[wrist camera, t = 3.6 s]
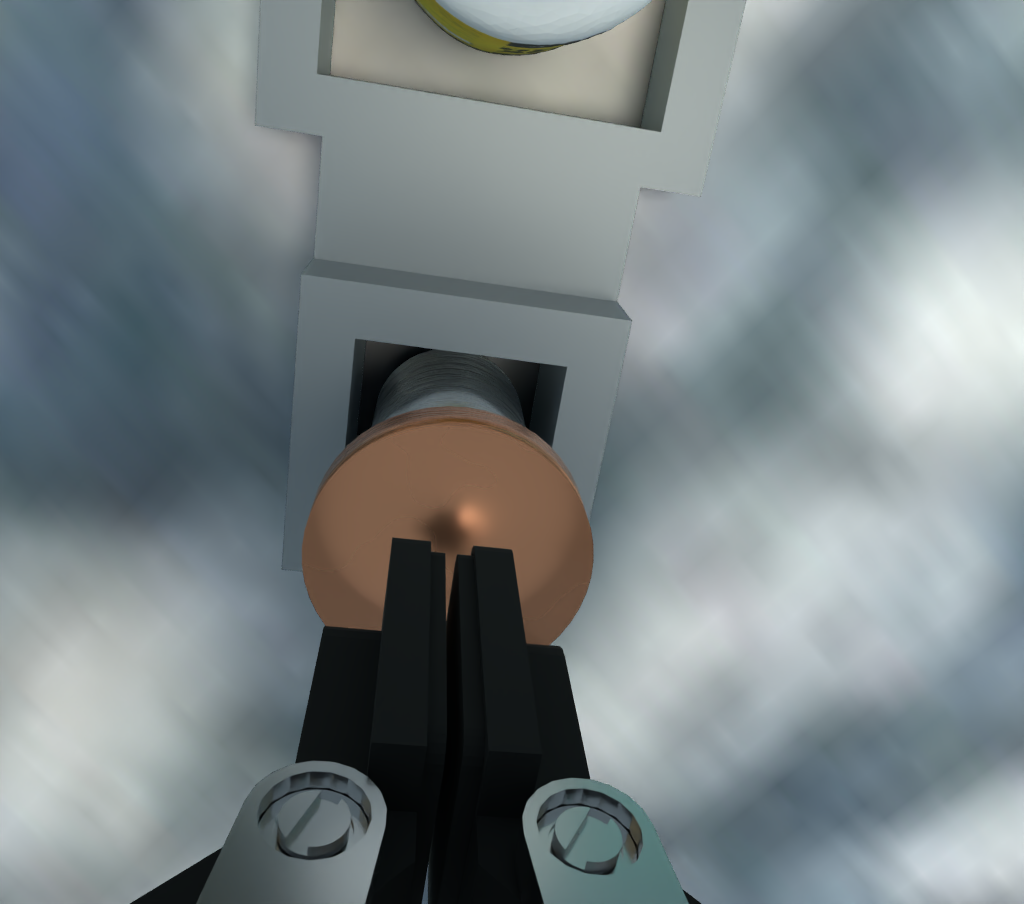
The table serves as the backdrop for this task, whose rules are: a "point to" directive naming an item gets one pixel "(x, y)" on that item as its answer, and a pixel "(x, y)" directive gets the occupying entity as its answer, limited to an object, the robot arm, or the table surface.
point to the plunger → (448, 497)
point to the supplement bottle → (527, 22)
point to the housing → (476, 229)
